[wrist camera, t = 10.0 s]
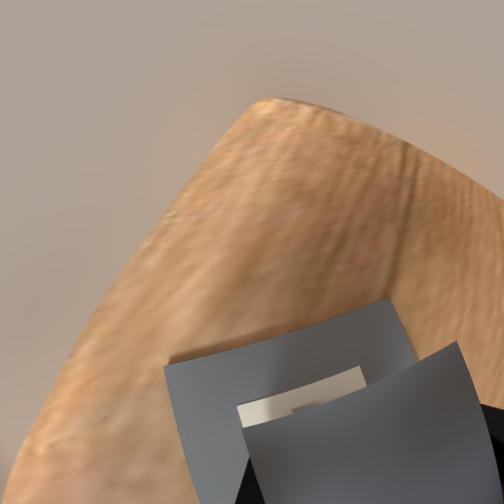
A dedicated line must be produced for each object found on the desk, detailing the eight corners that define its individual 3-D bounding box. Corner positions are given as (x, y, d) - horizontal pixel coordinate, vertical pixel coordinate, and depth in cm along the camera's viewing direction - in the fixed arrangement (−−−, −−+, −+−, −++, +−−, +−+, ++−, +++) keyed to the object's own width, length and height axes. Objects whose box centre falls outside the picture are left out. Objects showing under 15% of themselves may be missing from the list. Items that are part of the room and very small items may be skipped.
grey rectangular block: (381, 473, 11) (504, 508, 3) (288, 507, 11) (307, 609, 3) (354, 392, 14) (456, 340, 6) (261, 423, 14) (241, 428, 5)
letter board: (454, 490, 11) (459, 491, 10) (231, 573, 10) (229, 577, 9) (386, 300, 18) (389, 296, 17) (166, 368, 17) (163, 365, 16)
